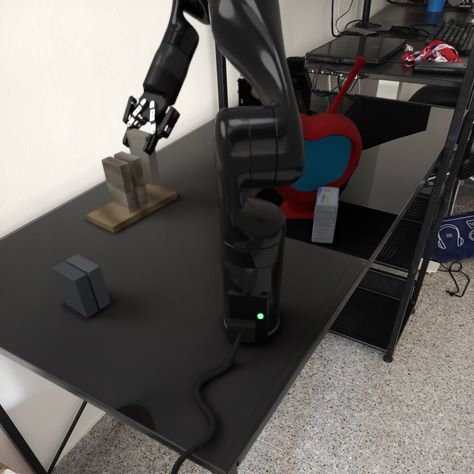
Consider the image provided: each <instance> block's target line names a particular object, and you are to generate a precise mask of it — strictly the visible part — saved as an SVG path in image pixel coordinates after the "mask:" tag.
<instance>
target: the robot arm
mask: <svg viewBox="0 0 474 474" xmlns="http://www.w3.org/2000/svg"><path fill="white" fill-rule="evenodd" d="M170 9H171V10H170V16H169V19H168V23H167V26H166V29H165V31H164V34H163V37H162V39H161V41H160V44H159V46H158V48H157V49H156V51H155V53H154V55H153V57H152V60H151V63H150V65H149V68H148V70H147V73H146V75H145V77H144V80H143V82H142V89H143V92H142V94H141V95H140V97H139V98H138V97H137V98H135V96H133V95H129V96H128V100H127V103H126V105H125V106H126V107H125V110H124V113H123V115H122V122H123V123H124V125H126V130H125V132H124V135H123V137H122V141H121V143H122V145H123V146H124V147H126V148H127V149H129V144H128V138H127V133H126V131H129V130H131V129H134V128H135V129H138V130H141V128H142V127H144V126H146V125H147V123H149V124H150V133H151V134H149V135H148V138H147V141H146V143H145V145H144V148H143V151H144V152H145V153H146V154H148V155H152V153H153V152H154V150H156V148H157V145H158V143H159V141H160V140H162V139H165V140H167V139H169V138H170V136H171V134H172V132H173V130H174V128H175V126H176V124H177V123H178V121H179V119H180V117H181V113H180V112H179V111H178V109H177V108H175V107H174V106H175V105H176V103H177V100H178V98H179V95H180V92H181V90H182V88H183V85H184V83H185V80H186V79H187V76H188V73H189V70H190V66H191V63H192V60H193V58H194V56H195V54H196V51H197V49H198V47H199V43H200V34H199V32H198V30H197V29H196V28H195V26H193V25H192V24H191V23H190V22H189V20H188V19H187V18H186V17H185V14H186V15H188V16H190V17H191V18H192V19H194V20H196V21H197V22H199V23H200V24H202V25H204V26H210V30H211V34H212V38H213V41H214V43H215V44H216V46H217V48H218V50H219V51H220V53H221V54H222V56H223V57H224V58H225V59H226V60H227V61H228V62H229V63H230V65H231V66H232V67H233V68H234V69H235V70H236V71H237V72H238V73H239V75H240V74H241V75H242V76H243V78H245V79H246V80H247V81H248V82H249V83H250V84H251V86H252V87H253V88H254V90H255V91H256V92H257V94H258V96H259V98H260V100H261V102H262V104H263V105H261V106H244V107H239V106H231V107H223V108H221V109H220V110H218V111H217V113H216V115H215V118H214V121H213V128H212V143H213V156H214V167H215V175H216V184H217V195H218V212H219V213H218V214H219V215H218V216H219V239H220V263H221V265H220V266H221V284H222V302H223V303H222V304H223V305H222V306H223V325H224V329H225V330H226V340H227V341H233V342H234V343H233V346H232V349H231V351H230V354H229V356H228V357H229V358H228V360H227V361H226V363H225V364H224V365H223V366H221V367H220V368H218V369H217V370H215V371H213V372H210V373H208V374H206V375H204V376H203V377H201V378H200V379H199V380H198V381H197V382H196V384H195V386H194V390H193V396H194V399H195V401H196V402H197V404H198V406H199V407H200V408H201V410H202V411H203V412H204V413H205V414H206V416H207V418H208V420H209V423H210V424H209V425H210V426H209V430H208V433H207V434H206V435H205V437H203V438H202V439H201V440H200V441H198V442H196V443H195V444H193V445H191V446H190V447H189V448H187V449H186V450H184V451H183V452H182V453H181V454H180V455H179V456H178V457H177V459H176V460H175V462H174V464H173V466H172V468H171V470H170V473H169V474H178V473H179V470H180V468H181V467H182V465H183V464H184V463H185V462H186V460H188V459H189V458H190V456H192V455H193V454H195V453H196V452H198V451H199V450H201V449H203V448H204V447H205V446H206V445H208V444H209V443H210V442H211V441H212V439H213V438H214V436H215V434H216V432H217V427H218V426H217V424H218V423H217V419H216V416H215V415H214V413H213V411H212V410H211V409H210V407H209V405H207V404H206V403H205V401H204V400H203V398H202V396H201V389H202V387H203V386H204V384H206V383H207V382H210V380H213V379H216V378H217V377H220V376H221V375H223V374H225V372H227V371H228V370H229V369H230V368H231V367H232V365H233V364H234V362H235V360H236V356H237V353H238V352H239V348H240V345H241V343H242V342H244V343H255V342H260V343H268V340H269V338H271V337H272V336H273V335H274V334H276V332H277V331H278V329H279V327H280V310H281V296H282V295H281V293H282V280H283V267H284V253H285V242H286V228H287V219H286V218H285V214H284V212H283V211H282V210H281V209H280V206H278V205H277V204H275V203H274V202H271V201H269V200H266V199H263V198H259V197H257V196H254V195H252V194H250V193H248V192H247V191H249V190H251V191H253V190H263V189H264V190H265V189H275V188H278V187H286V186H290V185H293V184H295V183H296V182H298V181H299V179H300V178H301V176H302V173H303V170H304V165H305V141H304V133H303V127H302V122H301V117H300V113H299V108H298V104H297V100H296V96H295V92H294V88H293V84H292V80H291V76H290V72H289V68H288V64H287V59H286V58H287V54H286V47H285V40H284V33H283V26H282V25H283V24H282V17H281V7H280V0H172V2H171V8H170ZM242 76H241V77H242Z"/></svg>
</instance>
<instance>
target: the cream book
mask: <svg viewBox="0 0 474 474" xmlns="http://www.w3.org/2000/svg"><path fill="white" fill-rule="evenodd" d="M125 132H126V133H127V138H128V144H129V148H128V149H129V154H131V155H134V156H137V157H140V158H141V164H142V170H143V176H144V181H145V184H146V183H147V184H151V185H154V184H156V185H157V184H158V183H160V182H161V178H160V171H159V163H158V157H157V151H156V149H155V150H154V152H153V153H152V155H148V154H146V153H145V152H144V151H143V148H144V145H145V143H146V141H147V138H148V135H149V134H151V132H147V131H145V130H141V129H139V130H138V129H135V128H134V129H131V130H129V131H126V130H125Z"/></svg>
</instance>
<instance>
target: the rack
mask: <svg viewBox="0 0 474 474" xmlns="http://www.w3.org/2000/svg"><path fill="white" fill-rule="evenodd" d="M100 160H101V161H100V162H101V164H102V165H101V166H102V169H103V174H104V177H105V181H106V186H107V190H108V193H109V198H110V202H108V203H107V204H105V205H103V206H101V207H99V208H97V209H94V210H93V211H91V212H89V213H87V214H86V218H87V221H88V222H89V223H92V224H94V225H96V226H98V227H100V228H102V229H104V230H106V231H109V232H111V233H112V234H116V233H117V232H119V231H121V230H122V229H125V228H126V227H128V226H130V225H131V224H133V223H135V222H137V221H139V220H140V219H143V218H145V217H146V216H148V215H149V214H151V213H154V212H155V211H157V210H158V209H160V208H163V207H164V206H165V205H167V204H169V203H171V202H173V201H176V199H178V193H177V191H174V190H172V189H169V188H166V187H163V186H161V185H158V184H157V183H156V184H154V185H151V184H149V183H147V184H146V182H145V181H144V176H143V170H142V164H141V158H140V157H137V156H134V155H131V154H130V152H129V153H128V152H125V151H123V150H120V151H119V152H117V153H114V154H113V156H111V155H109V156H107V157H104V158H102V159H100Z"/></svg>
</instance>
